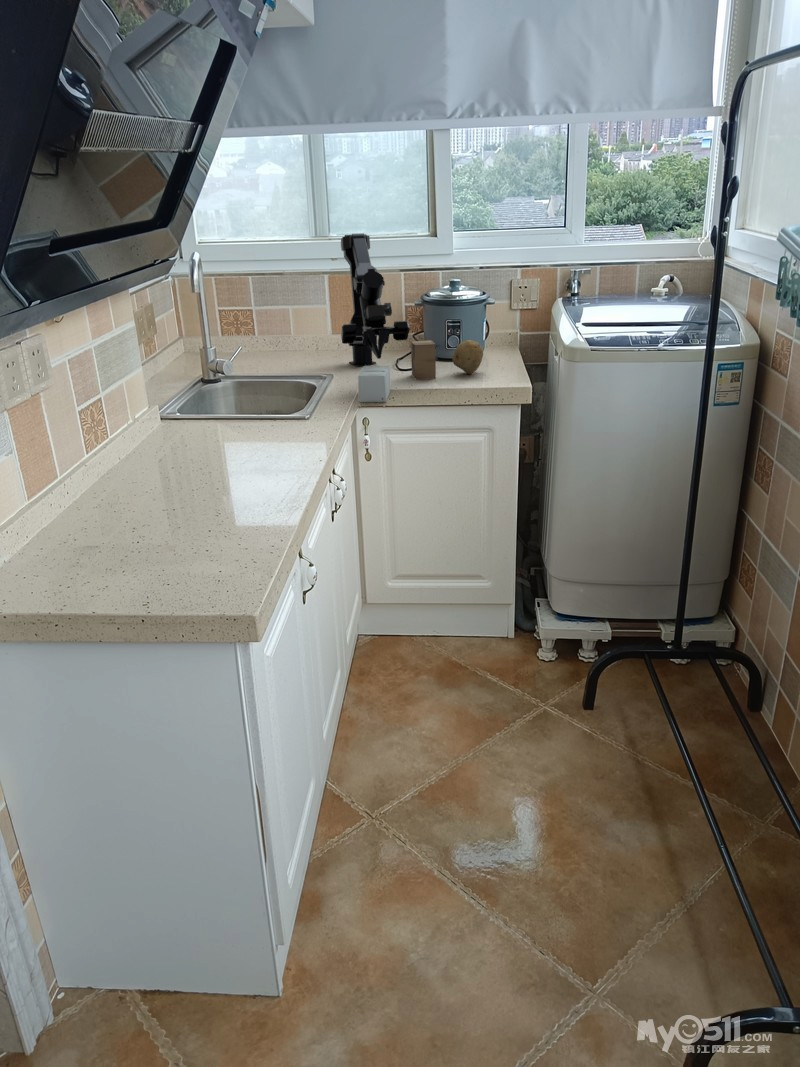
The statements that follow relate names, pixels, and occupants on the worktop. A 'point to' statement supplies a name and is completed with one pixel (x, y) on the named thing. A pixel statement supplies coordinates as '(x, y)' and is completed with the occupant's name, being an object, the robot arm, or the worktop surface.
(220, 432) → the worktop surface
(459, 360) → the natural sponge
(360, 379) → the supplement box
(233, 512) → the worktop surface
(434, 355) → the walnut block
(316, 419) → the worktop surface
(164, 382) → the worktop surface
